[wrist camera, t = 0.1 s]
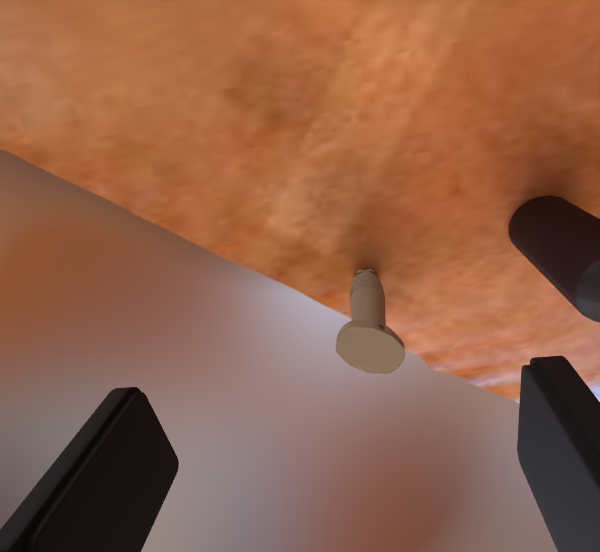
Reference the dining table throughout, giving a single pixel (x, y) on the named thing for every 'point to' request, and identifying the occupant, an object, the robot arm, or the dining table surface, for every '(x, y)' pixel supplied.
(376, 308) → the handle
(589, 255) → the bottle
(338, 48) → the dining table surface
